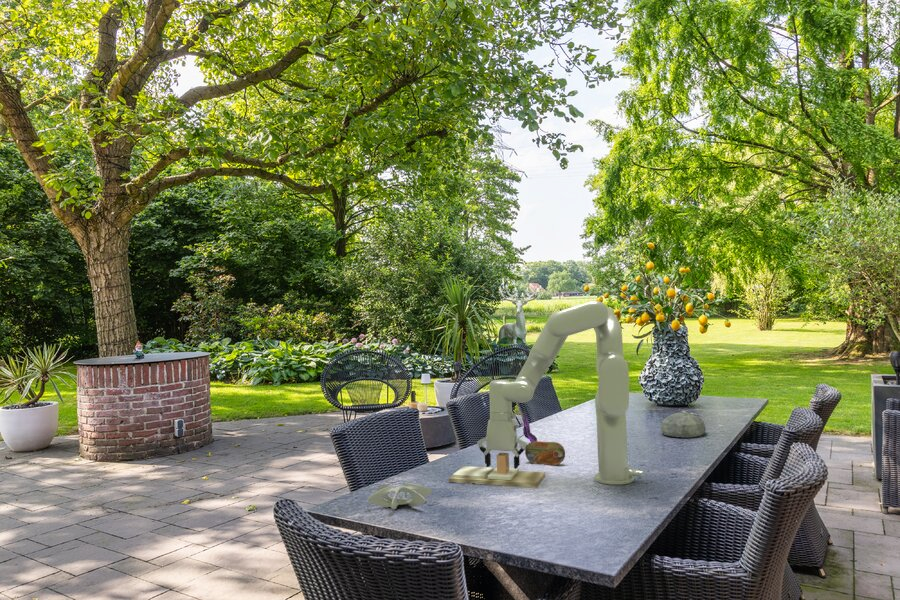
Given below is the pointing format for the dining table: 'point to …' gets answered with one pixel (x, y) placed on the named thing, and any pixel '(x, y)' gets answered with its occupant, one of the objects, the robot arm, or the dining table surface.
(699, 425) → the decorative stone
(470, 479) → the ticket pad
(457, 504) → the dining table surface
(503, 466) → the stub
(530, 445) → the tin
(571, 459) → the dining table surface
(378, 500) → the sculpture
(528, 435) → the flower
